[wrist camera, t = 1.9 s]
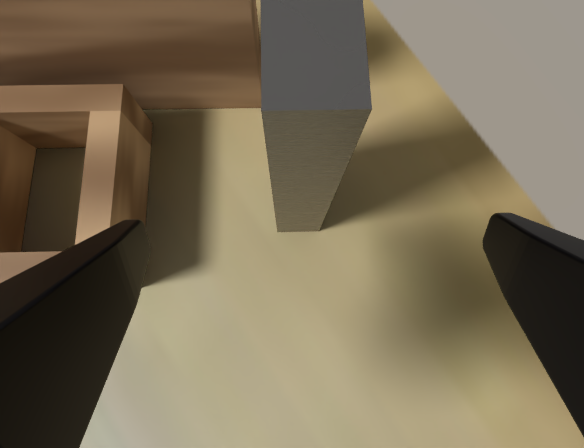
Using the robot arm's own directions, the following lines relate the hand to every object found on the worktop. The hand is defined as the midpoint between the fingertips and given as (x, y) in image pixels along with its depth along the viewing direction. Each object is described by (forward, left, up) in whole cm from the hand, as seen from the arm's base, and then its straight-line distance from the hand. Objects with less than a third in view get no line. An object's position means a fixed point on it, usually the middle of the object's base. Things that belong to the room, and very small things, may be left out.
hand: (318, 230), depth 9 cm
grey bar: (+4, 0, -11) cm, 12 cm away
